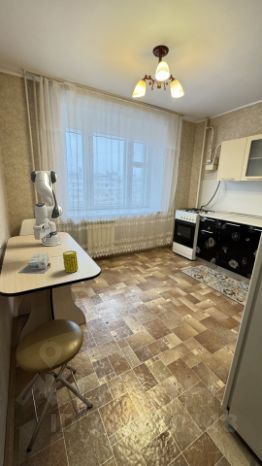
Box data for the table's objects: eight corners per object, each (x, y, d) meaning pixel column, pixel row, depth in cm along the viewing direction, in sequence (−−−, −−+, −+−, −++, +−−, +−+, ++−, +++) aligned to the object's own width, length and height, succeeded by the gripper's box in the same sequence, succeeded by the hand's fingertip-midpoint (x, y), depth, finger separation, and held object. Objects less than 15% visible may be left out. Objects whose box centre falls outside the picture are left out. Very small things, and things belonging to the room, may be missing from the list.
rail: (30, 264, 148) (29, 262, 147) (50, 265, 147) (50, 262, 147) (28, 265, 146) (28, 263, 145) (49, 266, 146) (49, 263, 145)
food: (69, 276, 134) (63, 272, 141) (84, 268, 141) (77, 264, 148) (63, 257, 128) (56, 254, 135) (78, 249, 135) (71, 247, 142)
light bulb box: (35, 260, 148) (30, 269, 138) (33, 253, 144) (28, 262, 135) (49, 260, 149) (46, 269, 140) (48, 252, 146) (44, 261, 136)
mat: (27, 265, 146) (27, 265, 146) (51, 266, 146) (51, 265, 145) (18, 272, 134) (18, 272, 134) (44, 273, 134) (44, 273, 134)
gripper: (44, 221, 159) (45, 237, 163) (31, 227, 139) (33, 245, 143) (51, 221, 159) (53, 237, 163) (40, 228, 139) (42, 246, 143)
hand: (43, 241), depth 153 cm, fingers closed
